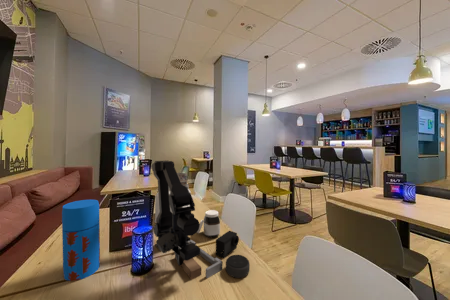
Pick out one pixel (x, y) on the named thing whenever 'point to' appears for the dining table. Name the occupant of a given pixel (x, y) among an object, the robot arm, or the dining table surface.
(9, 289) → the dining table surface
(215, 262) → the rail
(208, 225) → the spread jar
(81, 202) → the thermos
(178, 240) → the robot arm
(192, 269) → the walnut slat
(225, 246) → the digital camera
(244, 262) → the smart speaker
